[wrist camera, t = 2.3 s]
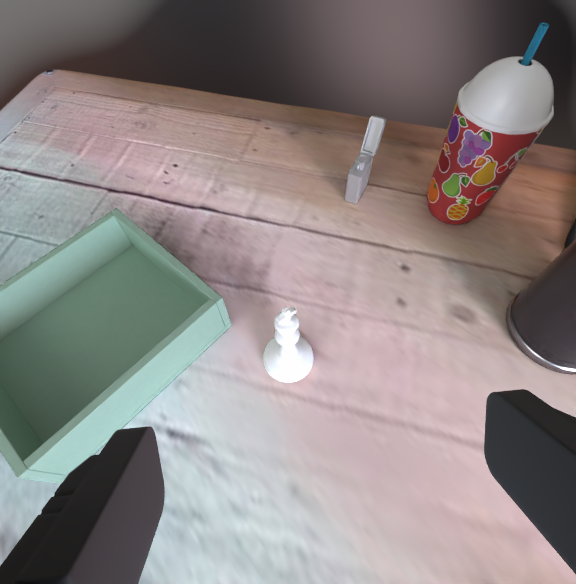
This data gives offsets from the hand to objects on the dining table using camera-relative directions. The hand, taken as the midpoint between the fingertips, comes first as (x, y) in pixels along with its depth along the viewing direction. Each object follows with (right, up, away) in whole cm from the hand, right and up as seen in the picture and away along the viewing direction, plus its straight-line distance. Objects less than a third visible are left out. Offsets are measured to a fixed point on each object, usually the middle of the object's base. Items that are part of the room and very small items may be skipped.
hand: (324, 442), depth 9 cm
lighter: (+9, +18, +40) cm, 44 cm away
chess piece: (-1, -3, +27) cm, 28 cm away
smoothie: (+19, +14, +37) cm, 44 cm away
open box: (-19, -1, +29) cm, 34 cm away
